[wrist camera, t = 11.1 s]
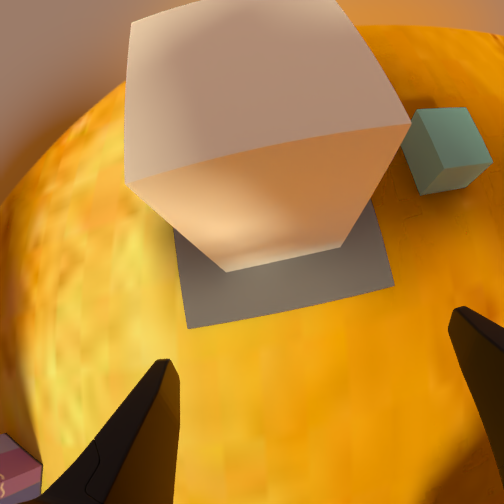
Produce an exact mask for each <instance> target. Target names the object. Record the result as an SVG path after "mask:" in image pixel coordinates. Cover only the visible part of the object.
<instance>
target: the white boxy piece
mask: <svg viewBox="0 0 504 504" xmlns="http://www.w3.org/2000/svg"><path fill="white" fill-rule="evenodd" d="M411 124H412V122H411V120H410V118H409V116H408V114H407V113H406V111H405V109H404V107H403V105H402V103H401V101H400V99H399V97H398V96H397V94H396V92H395V90H394V88H393V87H392V85H391V83H390V81H389V80H388V78H387V76H386V74H385V73H384V71H383V69H382V68H381V66H380V64H379V63H378V61H377V60H376V58H375V56H374V55H373V53H372V52H371V50H370V49H369V47H368V45H367V44H366V42H365V41H364V39H363V38H362V36H361V35H360V34H359V32H358V31H357V29H356V28H355V26H354V25H353V24H352V22H351V21H350V20H349V18H348V17H347V15H346V14H345V13H344V11H343V10H342V9H341V7H340V6H339V5H338V3H337V2H336V1H335V0H201V1H197V2H194V3H190V4H186V5H183V6H180V7H176V8H173V9H169V10H166V11H163V12H160V13H157V14H154V15H151V16H149V17H145V18H143V19H140V20H137V21H135V22H132V23H131V31H130V40H129V51H128V62H127V76H126V93H125V123H124V167H125V185H126V186H127V187H129V188H130V189H131V190H132V191H133V192H134V193H135V194H136V195H138V196H139V197H140V198H141V199H142V200H143V201H144V202H145V203H146V204H148V205H149V206H150V207H151V208H152V209H153V210H154V211H156V212H157V213H158V214H159V215H160V216H161V217H162V218H163V219H165V220H166V221H167V222H168V223H169V224H170V225H171V226H173V227H174V228H175V229H176V230H177V231H178V232H180V233H181V234H182V235H183V236H184V237H185V238H186V239H188V240H189V241H190V242H191V243H192V244H193V245H195V246H196V247H197V248H198V249H199V250H200V251H202V252H203V253H204V254H205V255H206V256H207V257H209V258H210V259H211V260H212V261H213V262H214V263H216V264H217V265H218V266H219V267H220V268H221V269H223V270H224V271H225V272H230V271H235V270H240V269H244V268H249V267H253V266H258V265H263V264H267V263H272V262H276V261H281V260H285V259H290V258H294V257H299V256H303V255H308V254H312V253H317V252H321V251H326V250H330V249H335V248H339V247H341V245H342V244H343V242H344V240H345V239H346V237H347V236H348V234H349V232H350V231H351V229H352V227H353V226H354V224H355V223H356V221H357V219H358V218H359V216H360V214H361V213H362V211H363V209H364V208H365V206H366V204H367V203H368V201H369V199H370V198H371V196H372V194H373V193H374V191H375V189H376V187H377V186H378V184H379V182H380V180H381V179H382V177H383V175H384V173H385V172H386V170H387V168H388V166H389V165H390V163H391V161H392V159H393V158H394V156H395V154H396V152H397V150H398V148H399V147H400V145H401V143H402V141H403V139H404V137H405V136H406V134H407V132H408V130H409V128H410V126H411Z"/></svg>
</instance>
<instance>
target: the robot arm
mask: <svg viewBox="0 0 504 504" xmlns="http://www.w3.org/2000/svg"><path fill="white" fill-rule="evenodd" d="M448 333H449V336H450V339H451V342H452V344H453V347H454V350H455V353H456V356H457V359H458V362H459V365H460V368H461V371H462V373H463V376H464V378H465V380H466V382H467V385H468V387H469V390H470V392H471V394H472V397H473V399H474V402H475V404H476V407H477V409H478V412H479V414H480V417H481V420H482V422H483V425H484V428H485V430H486V433H487V436H488V439H489V442H490V445H491V448H492V451H493V454H494V457H495V460H496V463H497V466H498V469H499V474H500V477H501V481H502V484H503V488H504V328H503V327H501V326H500V325H498V324H496V323H494V322H493V321H491V320H489V319H487V318H486V317H484V316H482V315H480V314H479V313H477V312H475V311H473V310H471V309H470V308H468V307H466V306H461V307H458V308H455V309H454V310H453V312H452V315H451V319H450V322H449V326H448ZM179 430H180V380H179V375H178V373H177V371H176V369H175V367H174V365H173V363H172V361H171V360H170V359H158V360H156V361H155V362H154V364H153V365H152V366H151V367H150V369H149V370H148V371H147V372H146V374H145V375H144V376H143V377H142V379H141V380H140V381H139V382H138V384H137V385H136V386H135V387H134V389H133V390H132V391H131V392H130V394H129V395H128V396H127V397H126V399H125V400H124V401H123V402H122V404H121V405H120V406H119V407H118V409H117V410H116V411H115V412H114V414H113V415H112V416H111V417H110V419H109V420H108V421H107V423H106V424H105V425H104V426H103V428H102V429H101V430H100V431H99V433H98V434H97V435H96V436H95V438H94V439H95V440H94V439H93V440H92V441H91V443H90V444H89V445H88V446H87V448H86V449H85V450H84V451H83V452H82V454H81V455H80V456H79V457H78V458H77V459H76V461H75V462H74V463H73V464H72V465H71V466H70V467H69V468H68V469H67V470H66V471H65V472H64V473H63V474H62V475H61V476H60V477H59V478H58V479H57V480H56V481H55V482H54V483H53V484H52V485H51V486H50V487H49V488H48V489H47V490H46V491H45V492H44V493H43V494H41V495H40V496H38V497H36V498H34V499H32V500H29V501H25V502H21V503H17V504H173V496H174V483H175V472H176V461H177V450H178V440H179Z"/></svg>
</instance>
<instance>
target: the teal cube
mask: <svg viewBox="0 0 504 504" xmlns="http://www.w3.org/2000/svg"><path fill="white" fill-rule="evenodd" d="M411 122H412V124H411V126H410V128H409V130H408V132H407V134H406V136H405V137H404V139H403V141H402V143H401V145H400V146H401V148H402V150H403V153H404V155H405V158H406V160H407V163H408V165H409V168H410V170H411V173H412V175H413V178H414V181H415V183H416V186H417V189H418V192H419V194H420V196H421V195H426V194H432V193H437V192H443V191H448V190H454V189H460V188H465V187H467V186H468V185H469V184H470V183H471V182H472V181H473V180H475V179H476V178H477V177H478V176H479V175H480V174H481V173H482V172H483V171H484V170H485V169H487V168H488V167H489V166H490V165H491V164H492V163H493V161H492V158H491V156H490V154H489V152H488V150H487V148H486V145H485V143H484V141H483V139H482V137H481V135H480V133H479V131H478V129H477V127H476V125H475V123H474V121H473V120H472V118H471V116H470V114H469V112H468V110H467V109H466V107H460V108H432V109H417V110H416V112H415V114H414V115H413V117H412V119H411Z"/></svg>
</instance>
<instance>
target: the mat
mask: <svg viewBox="0 0 504 504" xmlns="http://www.w3.org/2000/svg"><path fill="white" fill-rule="evenodd" d="M173 230H174V238H175V247H176V254H177V262H178V269H179V277H180V284H181V290H182V297H183V303H184V310H185V316H186V322H187V328H188V329H191V328H197V327H203V326H209V325H215V324H221V323H227V322H232V321H238V320H243V319H249V318H254V317H259V316H264V315H269V314H274V313H279V312H284V311H289V310H294V309H299V308H303V307H308V306H312V305H317V304H322V303H326V302H330V301H335V300H339V299H343V298H348V297H352V296H356V295H360V294H364V293H368V292H372V291H376V290H380V289H384V288H388V287H392V286H395V285H394V281H393V277H392V273H391V269H390V265H389V261H388V257H387V253H386V249H385V245H384V242H383V238H382V235H381V231H380V228H379V224H378V221H377V217H376V214H375V211H374V208H373V204H372V201H371V198H370V199H369V201H368V203H367V204H366V206H365V208H364V209H363V211H362V213H361V214H360V216H359V218H358V219H357V221H356V223H355V224H354V226H353V227H352V229H351V231H350V232H349V234H348V236H347V237H346V239H345V240H344V242H343V244H342V245H341V247H339V248H335V249H330V250H326V251H321V252H317V253H312V254H308V255H303V256H299V257H294V258H290V259H285V260H281V261H276V262H272V263H267V264H263V265H258V266H253V267H249V268H244V269H240V270H235V271H230V272H225V271H224V270H223V269H221V268H220V267H219V266H218V265H217V264H216V263H214V262H213V261H212V260H211V259H210V258H209V257H207V256H206V255H205V254H204V253H203V252H202V251H200V250H199V249H198V248H197V247H196V246H195V245H193V244H192V243H191V242H190V241H189V240H188V239H186V238H185V237H184V236H183V235H182V234H181V233H180V232H178V231H177V230H176V229H175V228H174V227H173Z"/></svg>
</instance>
